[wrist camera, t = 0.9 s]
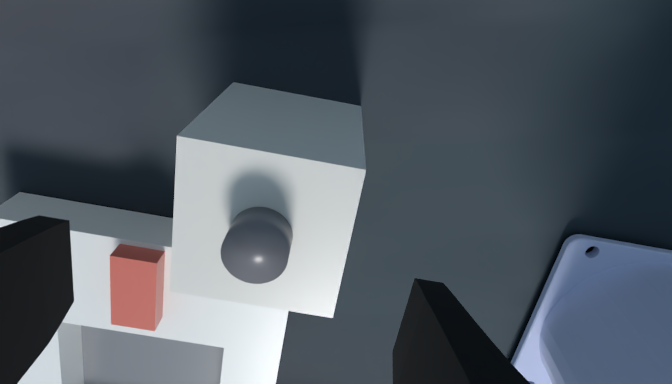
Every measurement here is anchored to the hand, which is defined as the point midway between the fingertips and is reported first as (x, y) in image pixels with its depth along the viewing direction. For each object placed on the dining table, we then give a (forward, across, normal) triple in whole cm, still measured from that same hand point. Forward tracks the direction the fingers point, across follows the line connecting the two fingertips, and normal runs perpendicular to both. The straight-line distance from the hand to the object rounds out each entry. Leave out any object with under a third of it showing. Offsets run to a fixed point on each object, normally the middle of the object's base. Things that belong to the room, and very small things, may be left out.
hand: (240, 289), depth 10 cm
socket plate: (+8, +4, +11) cm, 14 cm away
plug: (+8, 0, 0) cm, 8 cm away
